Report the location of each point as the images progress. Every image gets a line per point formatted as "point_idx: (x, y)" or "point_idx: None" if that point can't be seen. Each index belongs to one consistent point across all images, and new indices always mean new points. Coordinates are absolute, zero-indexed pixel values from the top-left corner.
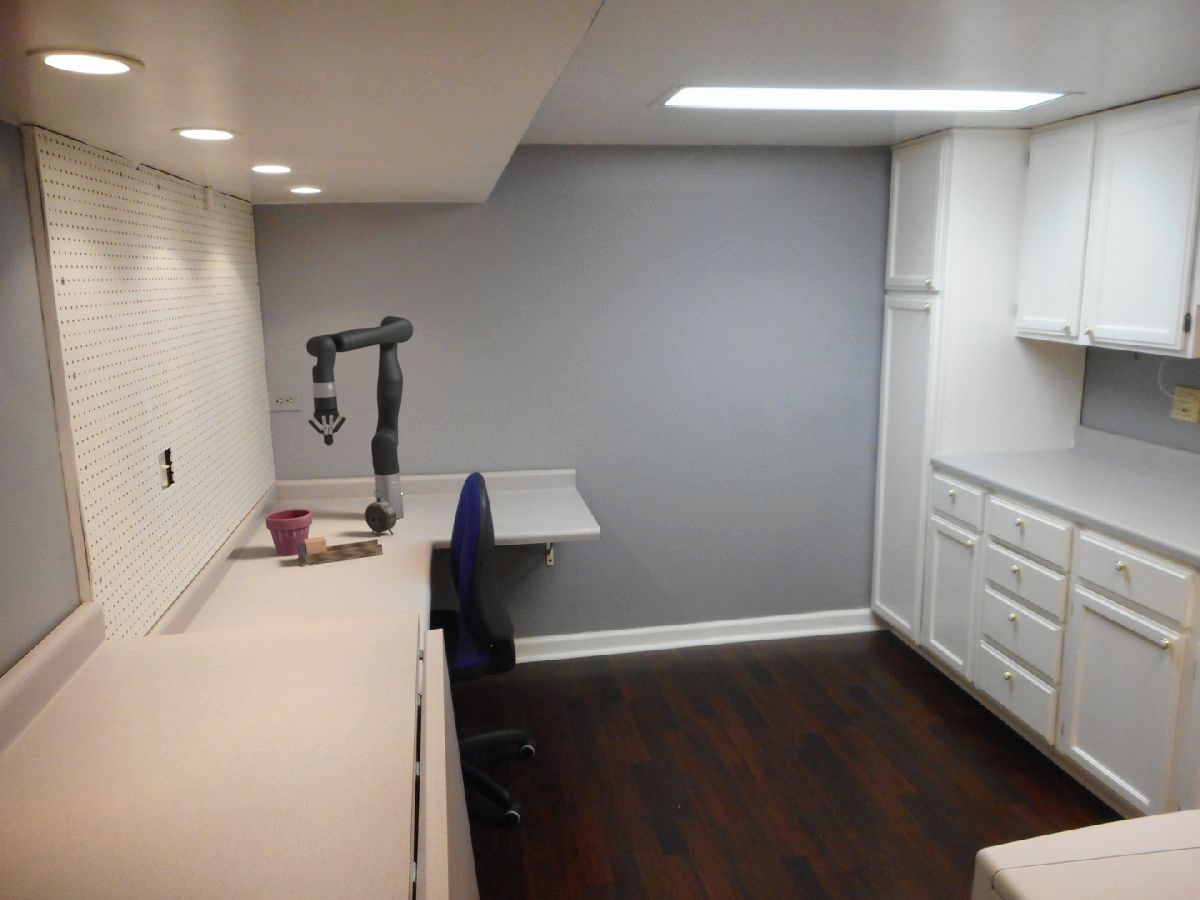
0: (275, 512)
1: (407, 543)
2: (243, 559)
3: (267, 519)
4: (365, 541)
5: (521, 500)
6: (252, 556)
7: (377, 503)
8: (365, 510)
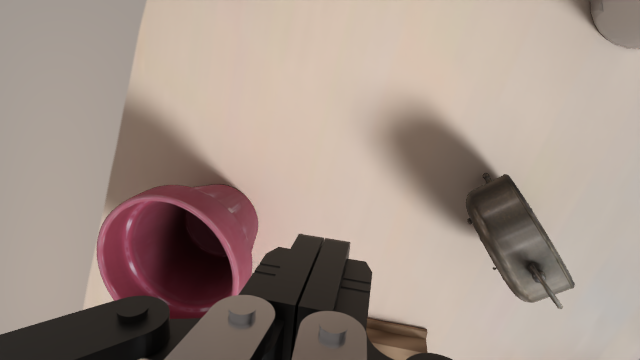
0: (128, 205)
1: (514, 349)
2: (110, 209)
3: (102, 276)
4: (391, 351)
5: None
6: (130, 197)
7: (516, 283)
8: (475, 212)
